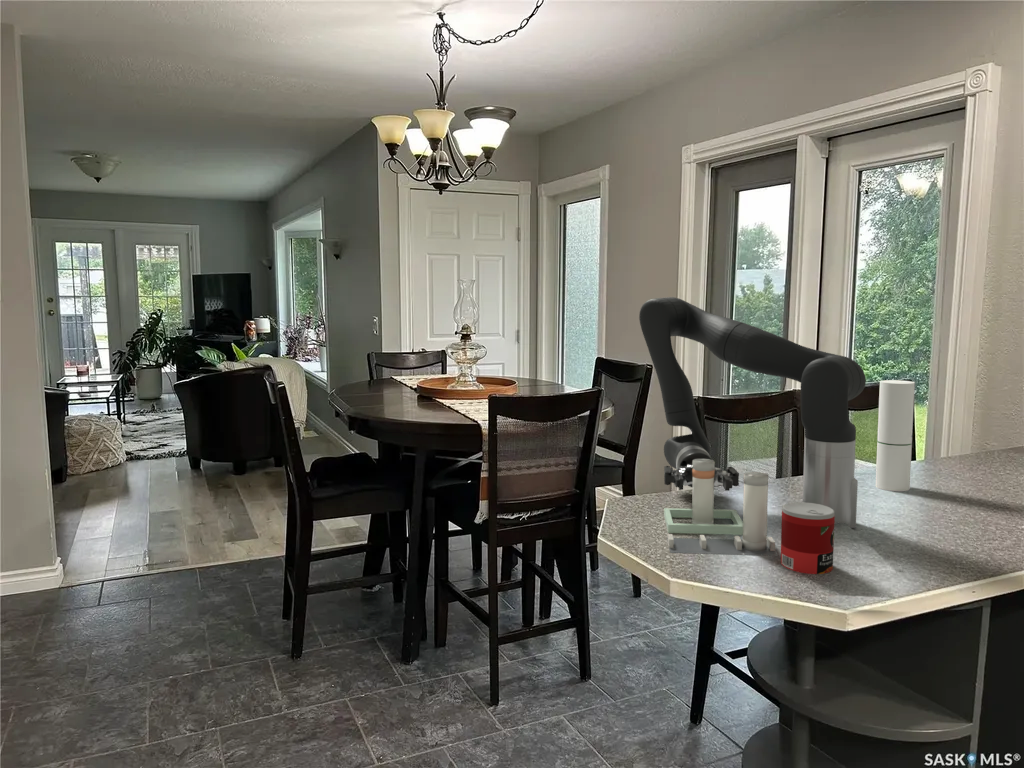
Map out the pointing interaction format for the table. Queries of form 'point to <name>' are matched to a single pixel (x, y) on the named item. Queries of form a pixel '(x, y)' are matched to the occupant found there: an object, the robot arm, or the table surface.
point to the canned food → (807, 537)
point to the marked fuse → (703, 491)
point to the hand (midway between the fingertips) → (704, 485)
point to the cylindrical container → (894, 435)
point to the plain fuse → (755, 511)
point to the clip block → (716, 546)
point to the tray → (703, 528)
